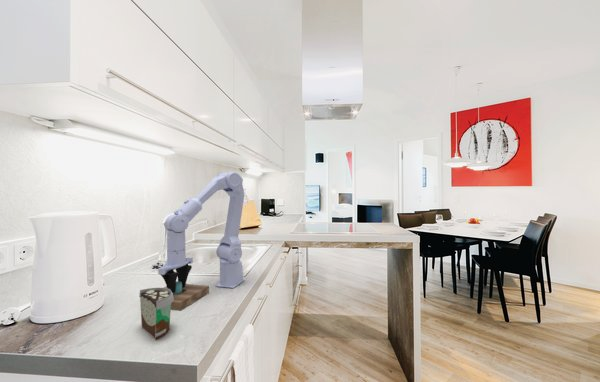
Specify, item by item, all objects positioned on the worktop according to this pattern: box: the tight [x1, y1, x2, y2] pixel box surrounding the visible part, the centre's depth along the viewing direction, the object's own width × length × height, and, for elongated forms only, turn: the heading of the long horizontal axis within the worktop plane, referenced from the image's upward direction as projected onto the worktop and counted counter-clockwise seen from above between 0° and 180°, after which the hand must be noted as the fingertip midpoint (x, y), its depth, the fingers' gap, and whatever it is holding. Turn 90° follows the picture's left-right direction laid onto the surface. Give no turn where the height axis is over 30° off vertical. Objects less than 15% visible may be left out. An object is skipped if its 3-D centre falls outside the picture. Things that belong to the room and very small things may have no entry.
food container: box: [138, 287, 174, 341], centre depth 74 cm, size 12×6×10 cm, turn 48°
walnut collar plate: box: [163, 283, 210, 311], centre depth 94 cm, size 15×15×2 cm
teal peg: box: [173, 280, 182, 295], centre depth 94 cm, size 4×4×6 cm
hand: (176, 289), depth 94 cm, fingers open, 4 cm apart
